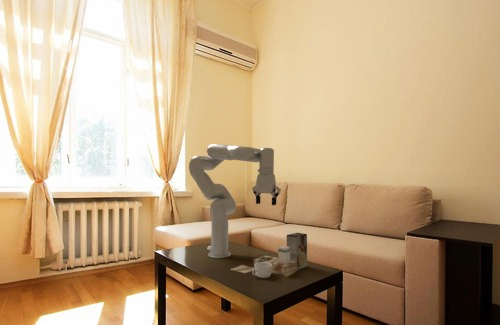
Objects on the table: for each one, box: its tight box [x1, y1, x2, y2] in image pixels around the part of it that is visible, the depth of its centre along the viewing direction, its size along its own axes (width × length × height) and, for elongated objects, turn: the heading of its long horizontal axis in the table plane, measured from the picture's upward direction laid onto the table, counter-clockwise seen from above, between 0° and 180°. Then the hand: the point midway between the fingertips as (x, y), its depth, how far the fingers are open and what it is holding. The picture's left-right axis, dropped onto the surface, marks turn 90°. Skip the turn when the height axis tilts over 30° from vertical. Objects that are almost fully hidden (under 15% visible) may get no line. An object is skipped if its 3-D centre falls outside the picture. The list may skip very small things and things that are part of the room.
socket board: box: [253, 254, 298, 278], centre depth 138 cm, size 18×10×5 cm, turn 54°
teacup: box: [251, 262, 273, 279], centre depth 128 cm, size 10×8×5 cm
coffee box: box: [286, 232, 308, 271], centre depth 144 cm, size 9×6×16 cm
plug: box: [277, 245, 290, 265], centre depth 135 cm, size 4×4×10 cm
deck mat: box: [230, 264, 255, 274], centre depth 138 cm, size 9×9×1 cm
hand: (265, 204), depth 151 cm, fingers open, 9 cm apart
